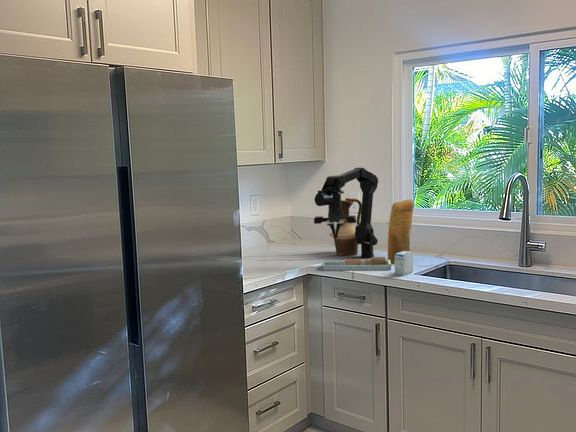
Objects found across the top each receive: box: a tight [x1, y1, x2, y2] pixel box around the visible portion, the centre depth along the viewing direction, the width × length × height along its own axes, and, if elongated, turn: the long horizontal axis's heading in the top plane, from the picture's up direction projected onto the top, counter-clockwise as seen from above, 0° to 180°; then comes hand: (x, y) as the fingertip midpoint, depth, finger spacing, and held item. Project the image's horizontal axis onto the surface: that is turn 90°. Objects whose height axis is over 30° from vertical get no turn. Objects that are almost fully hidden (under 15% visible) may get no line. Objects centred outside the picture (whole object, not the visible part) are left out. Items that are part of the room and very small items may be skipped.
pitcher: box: [328, 197, 362, 257], centre depth 286 cm, size 18×17×28 cm
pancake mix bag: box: [387, 199, 414, 265], centre depth 262 cm, size 7×19×28 cm, turn 132°
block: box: [370, 256, 387, 265], centre depth 252 cm, size 5×6×4 cm
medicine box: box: [394, 251, 414, 276], centre depth 239 cm, size 8×4×9 cm, turn 141°
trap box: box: [320, 258, 392, 271], centre depth 255 cm, size 14×30×2 cm, turn 82°
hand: (335, 238), depth 261 cm, fingers closed
